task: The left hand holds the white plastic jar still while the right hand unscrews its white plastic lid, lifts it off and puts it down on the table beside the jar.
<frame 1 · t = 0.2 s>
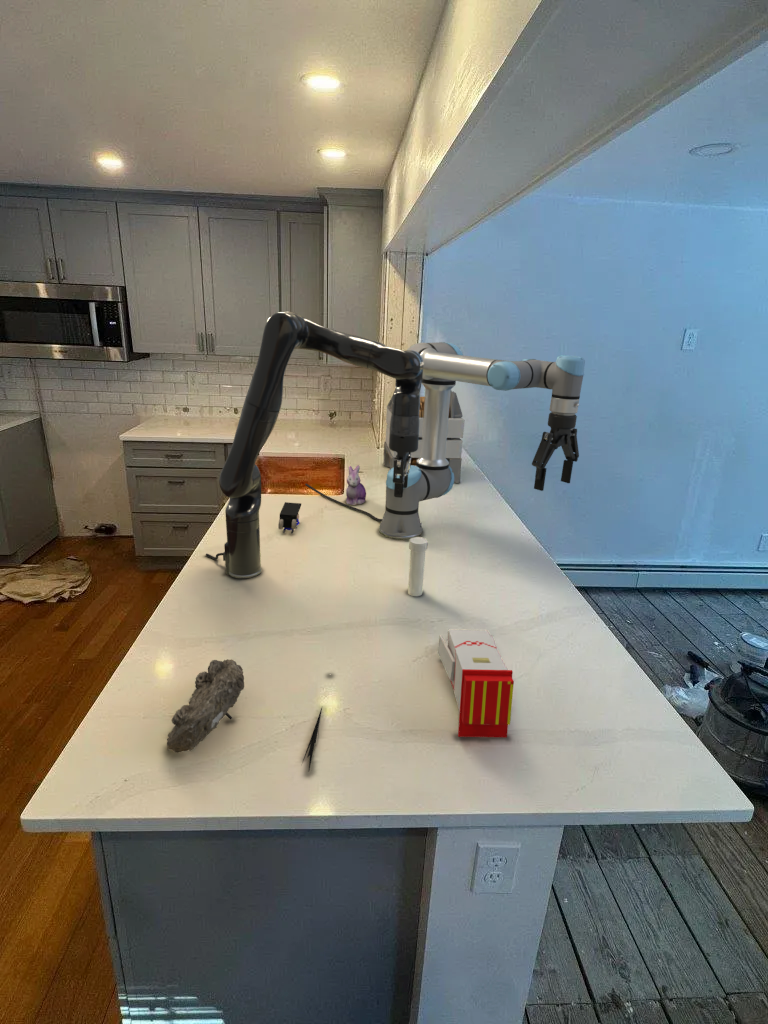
left hand: (400, 492, 150), 29 cm above the counter, tool pointing down, fingers open, 8 cm apart
right hand: (552, 485, 166), 28 cm above the counter, tool pointing down, fingers open, 13 cm apart
jar: (415, 592, 159), on the counter
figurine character: (290, 528, 200), on the counter
white slatted crate: (419, 473, 275), on the counter
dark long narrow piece: (319, 719, 109), on the counter
figurine: (355, 502, 230), on the counter
toy: (469, 691, 119), on the counter
fossil: (212, 717, 108), on the counter
lid: (418, 541, 154), point 16 cm above the counter, screwed on, not yet turned
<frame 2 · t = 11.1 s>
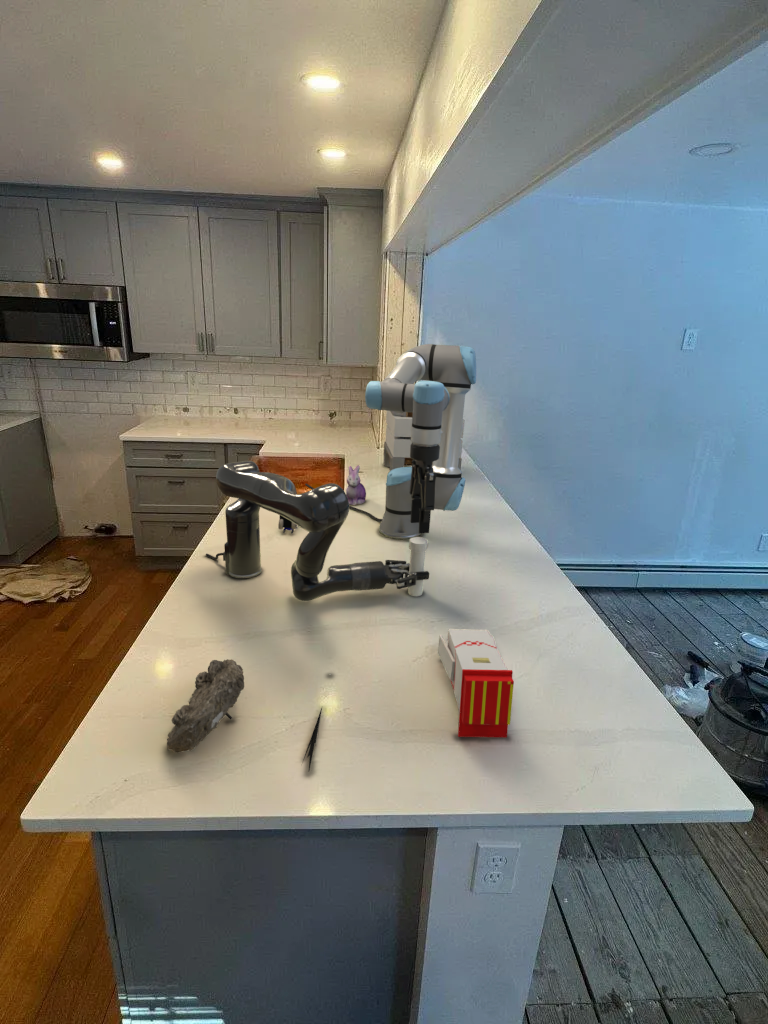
left hand: (425, 571, 158), 6 cm above the counter, tool horizontal, fingers closed on jar, 4 cm apart
right hand: (419, 527, 152), 20 cm above the counter, tool pointing down, fingers open, 7 cm apart
jar: (415, 592, 159), on the counter, touching left hand
everything else where it was.
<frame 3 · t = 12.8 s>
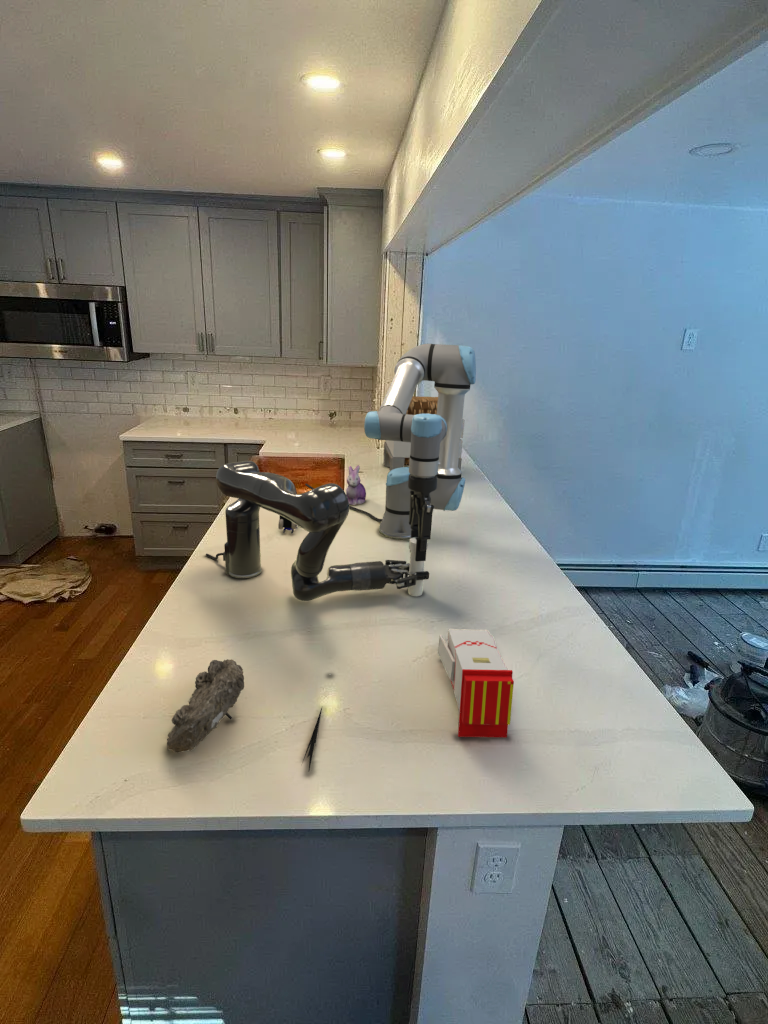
left hand: (425, 571, 158), 6 cm above the counter, tool horizontal, fingers closed on jar, 4 cm apart
right hand: (417, 556, 155), 11 cm above the counter, tool pointing down, fingers closed on lid, 5 cm apart
jar: (415, 592, 159), on the counter, touching left hand
lid: (418, 541, 154), point 16 cm above the counter, screwed on, not yet turned, touching right hand
everything else where it was.
when the right hand's fingers open (11 cm above the counter, at t = 14.0 s): lid stays where it is, point 16 cm above the counter.
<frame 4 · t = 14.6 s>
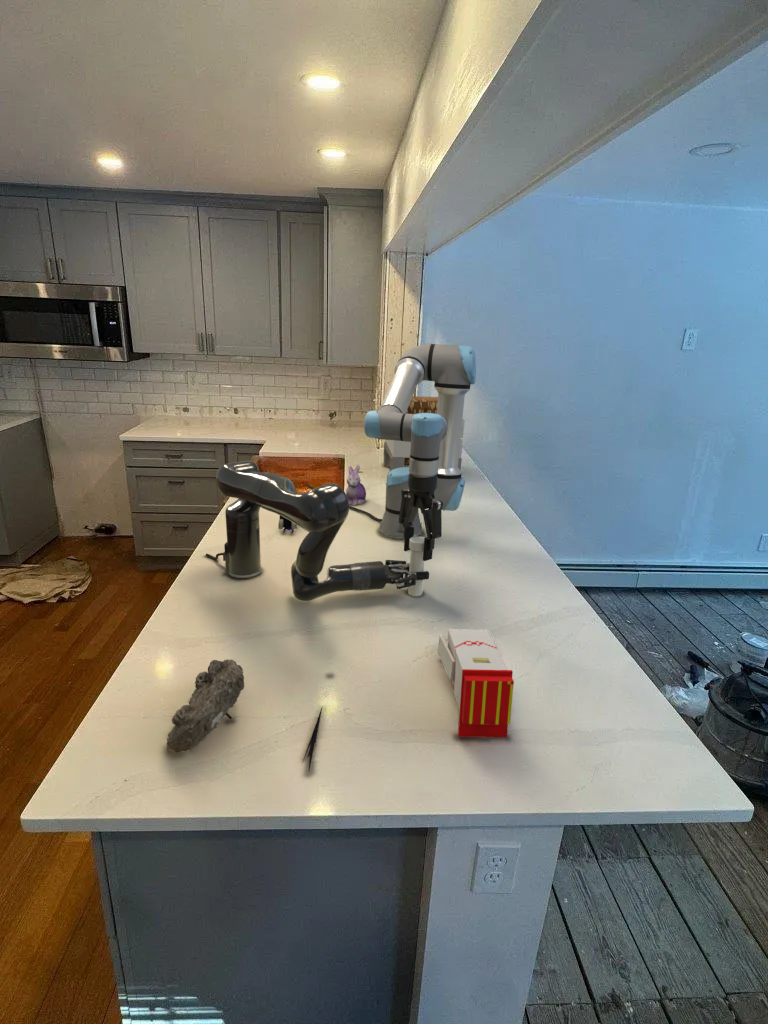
left hand: (425, 571, 158), 6 cm above the counter, tool horizontal, fingers closed on jar, 4 cm apart
right hand: (417, 554, 155), 12 cm above the counter, tool pointing down, fingers open, 7 cm apart
jar: (415, 592, 159), on the counter, touching left hand
lid: (418, 541, 154), point 16 cm above the counter, turned 75° so far, risen 0.2 cm, still on its thread
everything else where it was.
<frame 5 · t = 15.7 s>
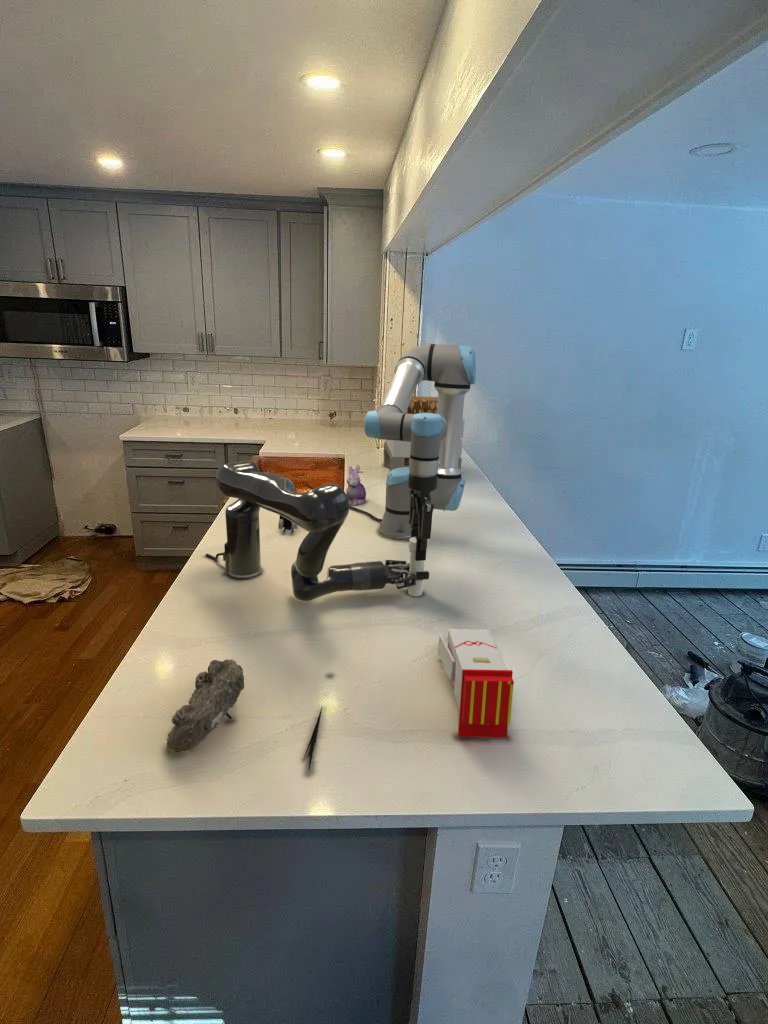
left hand: (425, 571, 158), 6 cm above the counter, tool horizontal, fingers closed on jar, 4 cm apart
right hand: (417, 555, 155), 11 cm above the counter, tool pointing down, fingers closed on lid, 5 cm apart
jar: (415, 592, 159), on the counter, touching left hand
lid: (418, 541, 154), point 16 cm above the counter, turned 75° so far, risen 0.2 cm, still on its thread, touching right hand
everything else where it was.
when the right hand's fingers open (0 cm above the counter, at t = 22.4 s): lid drops 2 cm, point 2 cm above the counter.
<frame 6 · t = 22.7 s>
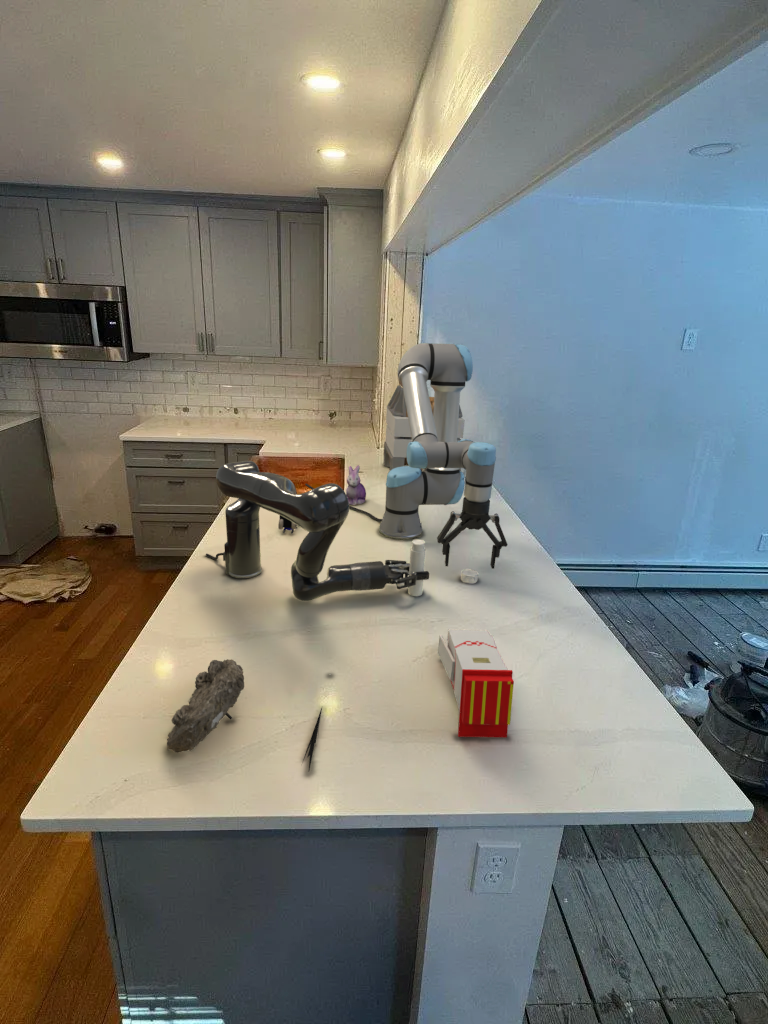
left hand: (425, 571, 158), 6 cm above the counter, tool horizontal, fingers closed on jar, 4 cm apart
right hand: (469, 565, 167), 4 cm above the counter, tool pointing down, fingers open, 13 cm apart
jar: (415, 592, 159), on the counter, touching left hand
lid: (469, 573, 167), point 2 cm above the counter, off its thread
everything else where it was.
when the left hand's fingers open (6 cm above the counter, at t = 23.0 s): jar stays where it is, on the counter.
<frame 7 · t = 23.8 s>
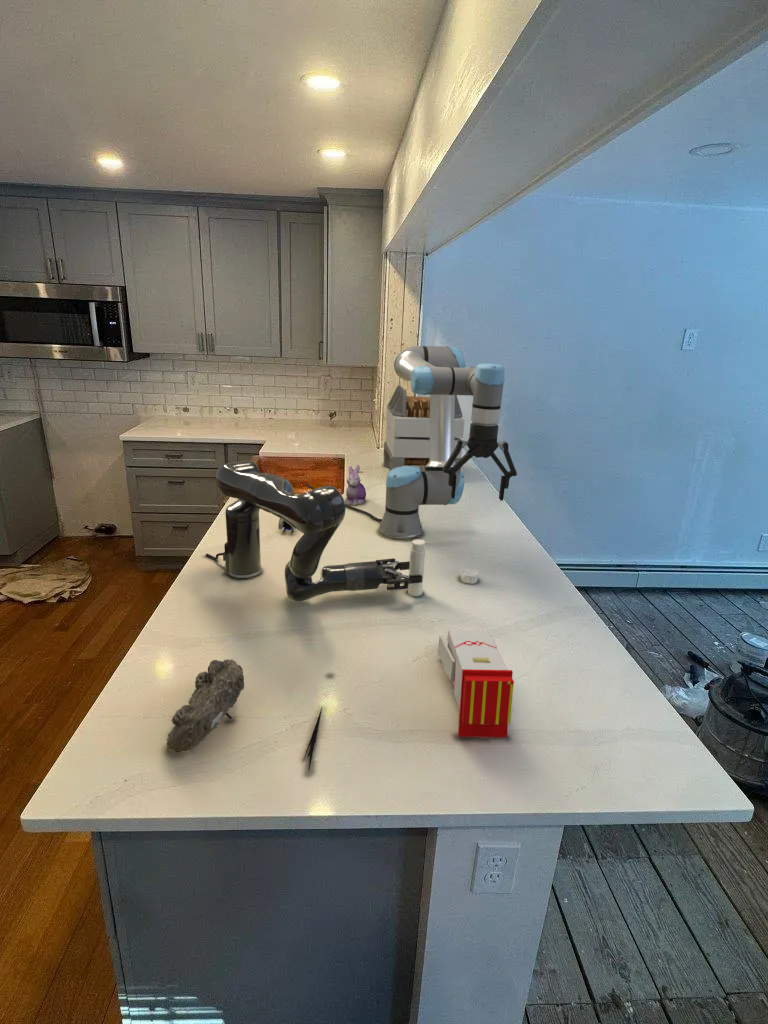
left hand: (417, 571, 157), 6 cm above the counter, tool horizontal, fingers open, 8 cm apart
right hand: (476, 498, 160), 25 cm above the counter, tool pointing down, fingers open, 13 cm apart
jar: (415, 592, 159), on the counter
everything else where it was.
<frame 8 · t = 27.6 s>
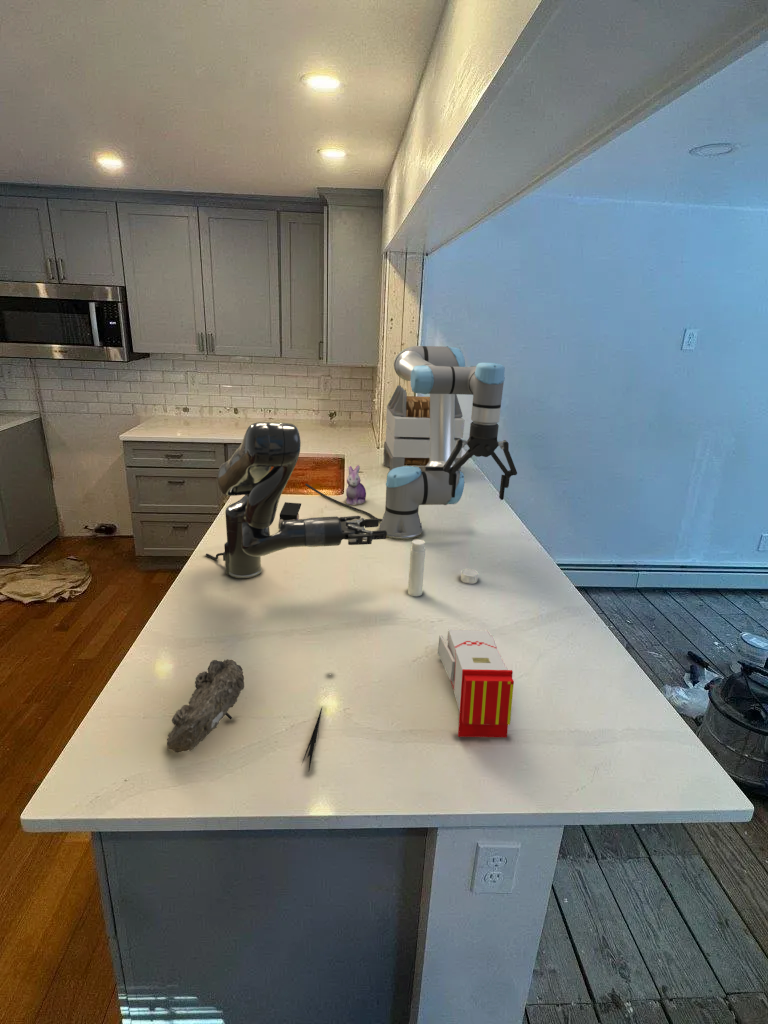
left hand: (382, 528, 149), 20 cm above the counter, tool horizontal, fingers open, 8 cm apart
right hand: (477, 497, 160), 26 cm above the counter, tool pointing down, fingers open, 13 cm apart
nothing on the counter moved.
at the end: lid came off its thread; lid point 2.1 cm above the counter; the left hand is holding nothing; the right hand is holding nothing; jar tilted 0°; jar moved 0.0 cm from its start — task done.
